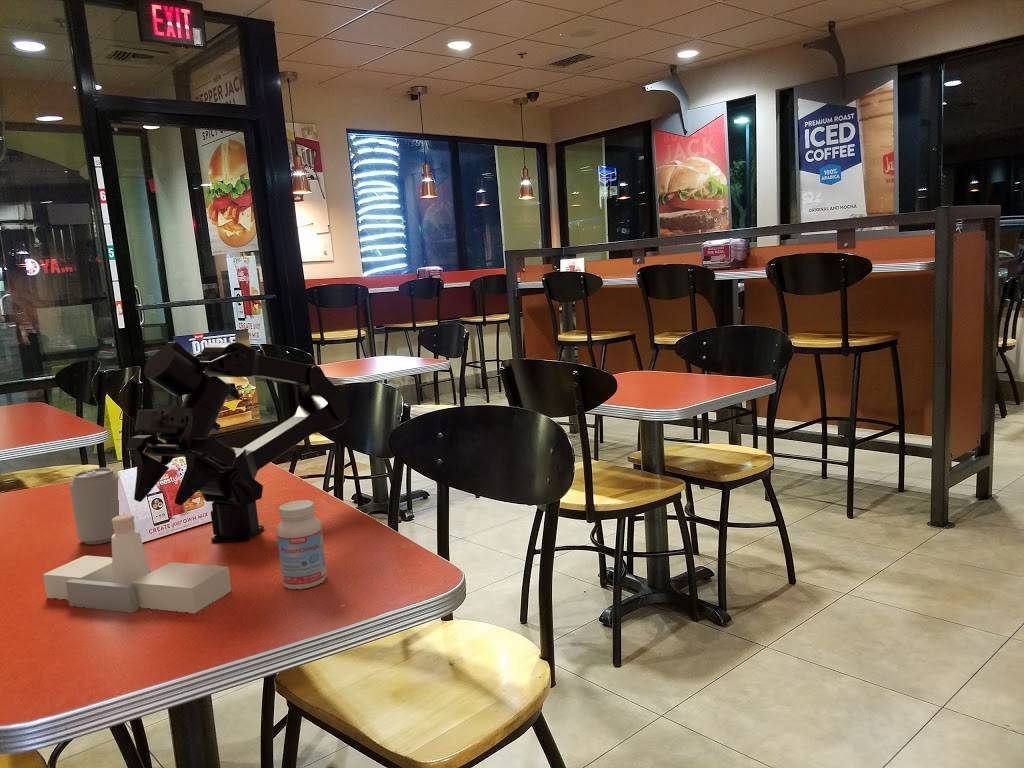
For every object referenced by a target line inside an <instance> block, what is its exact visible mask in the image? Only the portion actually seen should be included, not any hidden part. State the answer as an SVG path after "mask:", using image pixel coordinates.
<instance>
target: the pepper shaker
mask: <svg viewBox="0 0 1024 768" xmlns="http://www.w3.org/2000/svg"><path fill="white" fill-rule="evenodd" d="M112 523H113V528H114V533H115V534H113V535H112V541H111V558H112V564H113V583H122V584H132V582H134V581H135V580H137V579H139V578H141V577H143V576H145V575H147V574H149V573H151V570H150V566H149V562H148V559H147V555H146V551H145V547H144V544H143V541H142V537H141V534H140V530H138V529H136V528H135V526H136V525H135V515H133V514H132V513H131V514H129V513H124V514H123V515H119V516H116V517H114V518H113V519H112Z"/></svg>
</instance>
